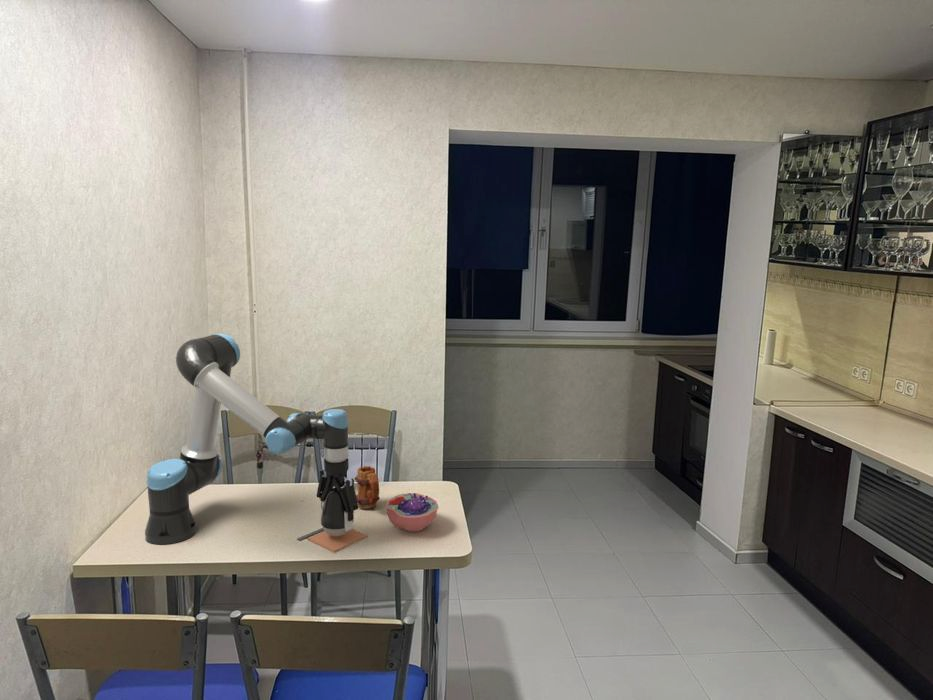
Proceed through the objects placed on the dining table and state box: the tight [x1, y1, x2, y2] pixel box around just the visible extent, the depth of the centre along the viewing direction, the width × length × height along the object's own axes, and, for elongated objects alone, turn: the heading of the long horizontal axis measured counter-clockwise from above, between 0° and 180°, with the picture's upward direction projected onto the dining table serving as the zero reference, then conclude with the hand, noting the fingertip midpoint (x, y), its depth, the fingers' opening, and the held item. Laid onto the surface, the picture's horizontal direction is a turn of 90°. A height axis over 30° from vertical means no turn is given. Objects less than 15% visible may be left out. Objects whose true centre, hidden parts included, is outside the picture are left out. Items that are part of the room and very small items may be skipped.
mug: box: [354, 465, 380, 510], centre depth 232 cm, size 15×8×15 cm, turn 27°
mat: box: [306, 528, 369, 554], centre depth 211 cm, size 13×14×1 cm
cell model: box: [385, 492, 439, 533], centre depth 219 cm, size 17×20×11 cm
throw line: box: [296, 527, 324, 542], centre depth 216 cm, size 2×18×1 cm, turn 141°
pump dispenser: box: [320, 488, 349, 536], centre depth 209 cm, size 10×10×15 cm
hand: (337, 524), depth 210 cm, fingers closed on pump dispenser, 10 cm apart
